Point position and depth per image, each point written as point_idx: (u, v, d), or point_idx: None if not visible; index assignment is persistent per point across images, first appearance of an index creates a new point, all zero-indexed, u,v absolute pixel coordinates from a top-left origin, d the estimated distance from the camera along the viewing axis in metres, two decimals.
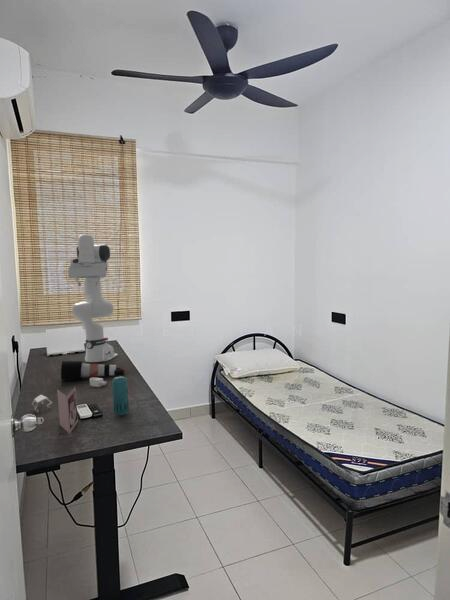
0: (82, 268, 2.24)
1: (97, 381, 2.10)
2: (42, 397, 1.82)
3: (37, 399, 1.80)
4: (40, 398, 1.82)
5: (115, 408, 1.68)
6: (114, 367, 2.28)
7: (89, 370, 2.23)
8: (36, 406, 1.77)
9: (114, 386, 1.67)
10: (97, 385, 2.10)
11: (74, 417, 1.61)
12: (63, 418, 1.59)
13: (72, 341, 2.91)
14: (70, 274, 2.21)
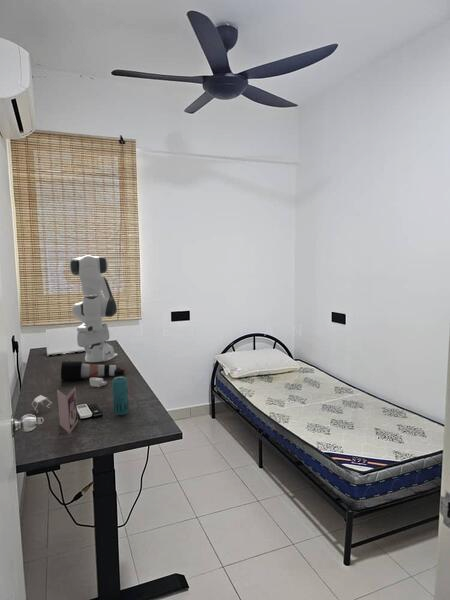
0: (92, 335, 2.06)
1: (97, 381, 2.10)
2: (42, 398, 1.82)
3: (37, 399, 1.80)
4: (40, 398, 1.81)
5: (115, 408, 1.68)
6: (114, 367, 2.27)
7: (89, 370, 2.22)
8: (36, 406, 1.76)
9: (114, 386, 1.67)
10: (97, 385, 2.10)
11: (74, 417, 1.61)
12: (63, 418, 1.59)
13: (72, 341, 2.91)
14: (84, 344, 2.01)
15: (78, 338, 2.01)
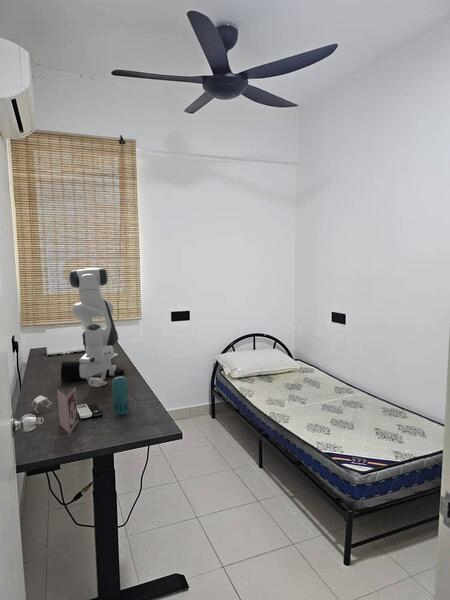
0: (94, 365, 2.08)
1: (97, 381, 2.10)
2: (41, 398, 1.81)
3: (37, 400, 1.79)
4: (40, 399, 1.81)
5: (115, 408, 1.68)
6: (114, 367, 2.27)
7: None
8: (36, 407, 1.76)
9: (114, 386, 1.67)
10: (97, 385, 2.10)
11: (74, 417, 1.61)
12: (63, 418, 1.59)
13: (72, 341, 2.91)
14: (86, 375, 2.02)
15: (80, 370, 2.03)
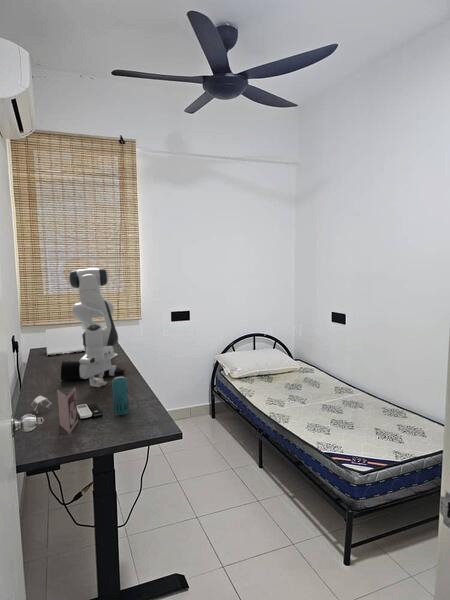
0: (94, 366, 2.08)
1: (97, 381, 2.10)
2: (41, 398, 1.81)
3: (36, 400, 1.79)
4: (39, 399, 1.80)
5: (115, 408, 1.68)
6: (114, 367, 2.27)
7: None
8: (36, 407, 1.76)
9: (114, 386, 1.67)
10: (97, 385, 2.10)
11: (74, 417, 1.61)
12: (63, 418, 1.59)
13: (72, 341, 2.92)
14: (86, 376, 2.03)
15: (80, 370, 2.03)
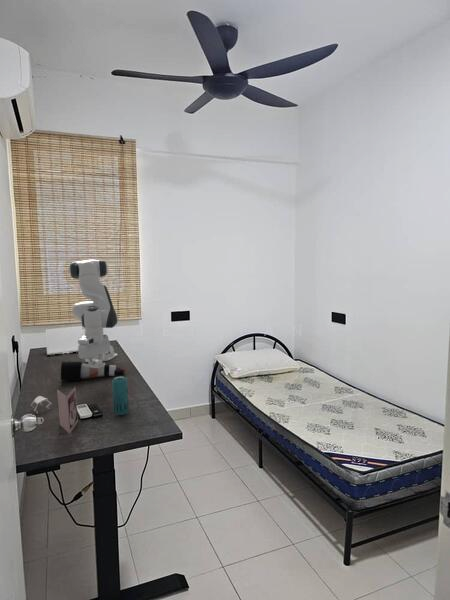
0: (93, 347, 2.07)
1: (96, 362, 2.09)
2: (41, 398, 1.81)
3: (36, 400, 1.79)
4: (39, 399, 1.80)
5: (115, 408, 1.68)
6: (114, 367, 2.27)
7: (89, 370, 2.22)
8: (36, 407, 1.75)
9: (114, 386, 1.67)
10: (96, 366, 2.09)
11: (74, 417, 1.61)
12: (63, 418, 1.59)
13: (72, 340, 2.92)
14: (85, 356, 2.02)
15: (79, 351, 2.02)
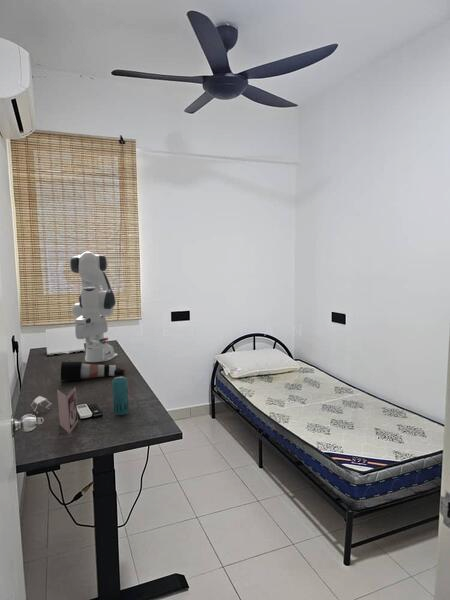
0: (90, 327, 2.06)
1: (93, 343, 2.08)
2: (41, 399, 1.80)
3: (36, 400, 1.78)
4: (39, 399, 1.80)
5: (115, 408, 1.68)
6: (114, 367, 2.27)
7: (89, 370, 2.22)
8: (36, 408, 1.75)
9: (114, 386, 1.67)
10: (93, 347, 2.08)
11: (74, 417, 1.61)
12: (63, 418, 1.59)
13: (72, 340, 2.92)
14: (82, 336, 2.01)
15: (76, 330, 2.01)
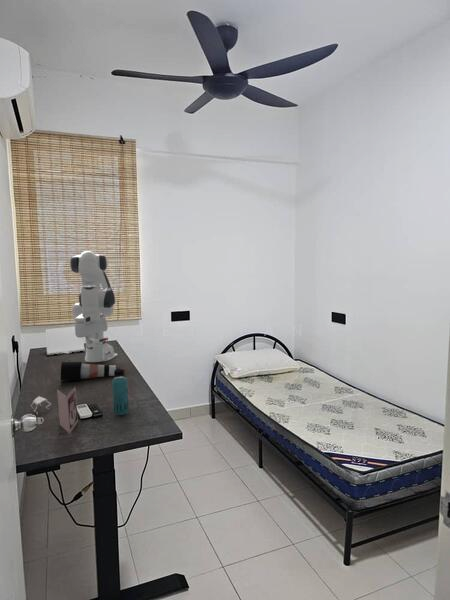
0: (90, 325, 2.06)
1: (93, 341, 2.08)
2: (41, 399, 1.80)
3: (36, 401, 1.78)
4: (39, 400, 1.79)
5: (115, 408, 1.68)
6: (114, 367, 2.27)
7: (89, 371, 2.22)
8: (36, 408, 1.75)
9: (114, 386, 1.67)
10: (93, 345, 2.08)
11: (74, 417, 1.61)
12: (63, 418, 1.59)
13: (72, 340, 2.92)
14: (82, 334, 2.00)
15: (76, 329, 2.01)
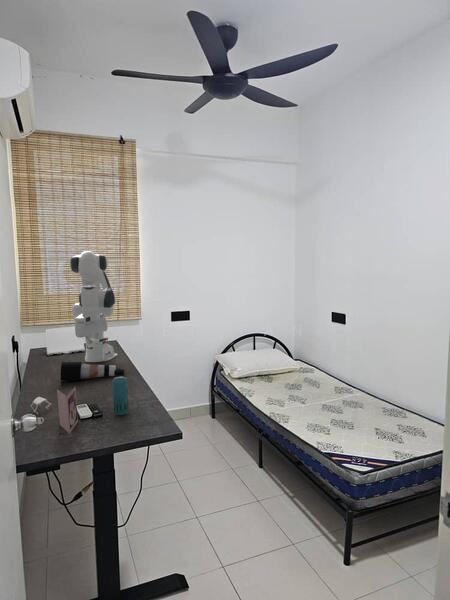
0: (90, 325, 2.06)
1: (93, 341, 2.08)
2: (41, 399, 1.80)
3: (36, 401, 1.78)
4: (39, 400, 1.79)
5: (115, 408, 1.68)
6: (114, 368, 2.26)
7: (89, 371, 2.21)
8: (36, 408, 1.74)
9: (114, 386, 1.67)
10: (93, 345, 2.08)
11: (74, 417, 1.61)
12: (63, 418, 1.59)
13: (72, 340, 2.93)
14: (82, 334, 2.00)
15: (76, 329, 2.01)
